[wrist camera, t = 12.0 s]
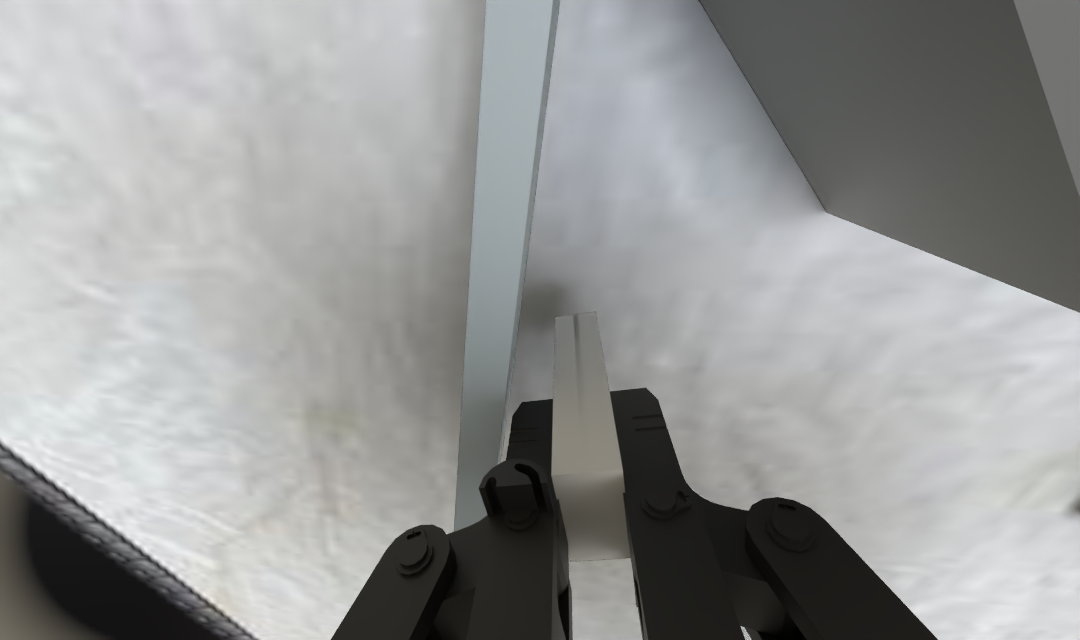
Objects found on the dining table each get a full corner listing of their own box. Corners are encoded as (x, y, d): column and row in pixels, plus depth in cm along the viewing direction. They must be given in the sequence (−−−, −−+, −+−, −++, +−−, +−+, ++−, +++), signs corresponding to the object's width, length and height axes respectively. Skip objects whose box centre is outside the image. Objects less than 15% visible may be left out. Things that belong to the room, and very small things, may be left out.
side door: (477, 429, 19) (437, 599, 13) (533, -224, 10) (492, -902, 3) (507, 432, 19) (482, 604, 13) (591, -214, 10) (667, -857, 3)
